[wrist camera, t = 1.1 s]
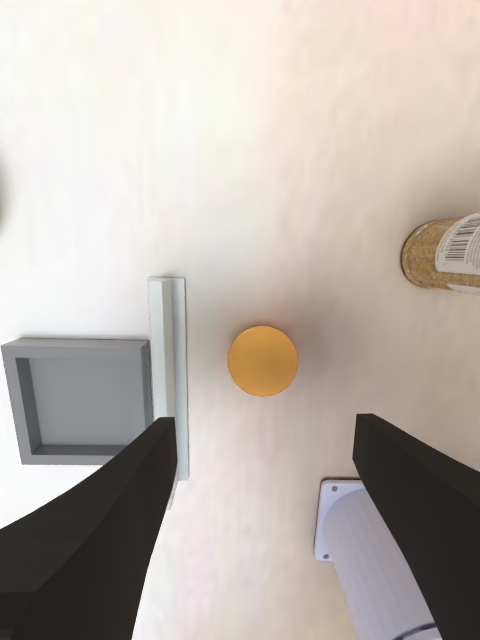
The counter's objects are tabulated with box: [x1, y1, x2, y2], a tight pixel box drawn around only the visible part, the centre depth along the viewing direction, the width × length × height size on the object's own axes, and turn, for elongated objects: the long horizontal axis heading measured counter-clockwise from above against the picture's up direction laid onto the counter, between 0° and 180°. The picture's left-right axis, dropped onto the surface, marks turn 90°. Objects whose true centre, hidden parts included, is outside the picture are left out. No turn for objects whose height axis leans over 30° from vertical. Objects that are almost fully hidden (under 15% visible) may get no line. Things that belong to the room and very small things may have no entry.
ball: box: [228, 326, 298, 397], centre depth 18 cm, size 4×4×4 cm
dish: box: [1, 338, 153, 465], centre depth 20 cm, size 9×9×2 cm
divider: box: [148, 277, 189, 510], centre depth 19 cm, size 2×16×3 cm, turn 179°
